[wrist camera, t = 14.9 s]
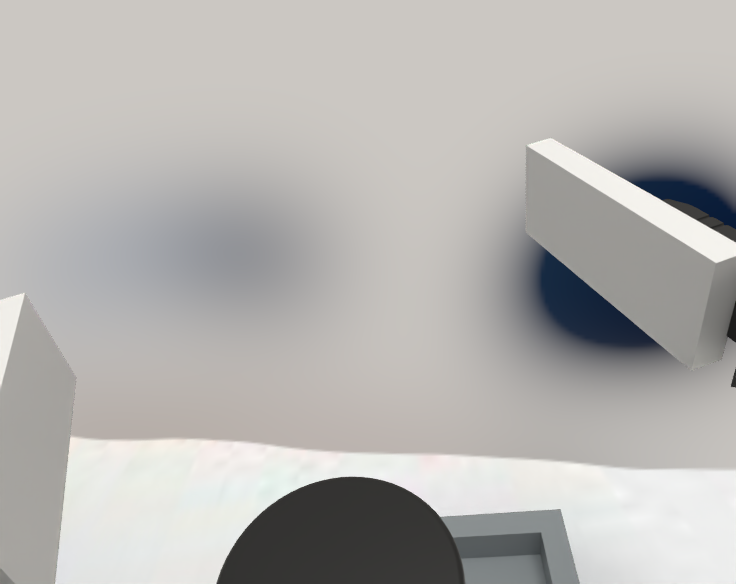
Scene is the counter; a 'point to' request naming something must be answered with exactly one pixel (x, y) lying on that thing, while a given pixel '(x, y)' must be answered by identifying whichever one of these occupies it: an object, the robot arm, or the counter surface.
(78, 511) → the counter surface
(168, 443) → the counter surface
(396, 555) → the jar
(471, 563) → the tray
